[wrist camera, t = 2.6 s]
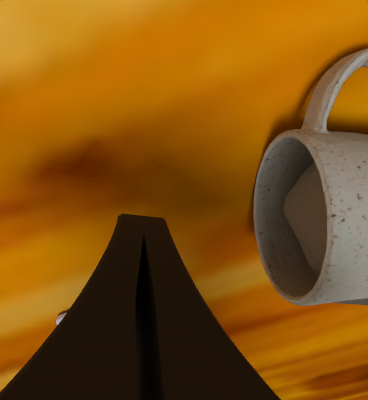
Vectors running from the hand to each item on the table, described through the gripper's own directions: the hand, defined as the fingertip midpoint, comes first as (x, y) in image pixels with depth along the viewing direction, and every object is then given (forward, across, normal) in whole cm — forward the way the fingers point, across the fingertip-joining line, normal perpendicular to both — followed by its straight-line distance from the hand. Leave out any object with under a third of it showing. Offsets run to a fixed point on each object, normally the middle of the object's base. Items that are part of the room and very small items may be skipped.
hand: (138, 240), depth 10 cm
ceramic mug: (+8, -10, -1) cm, 13 cm away
